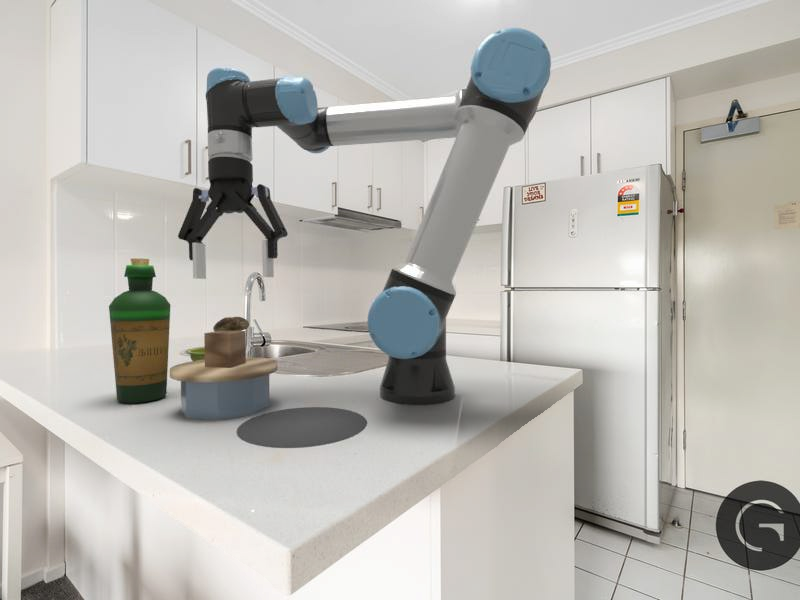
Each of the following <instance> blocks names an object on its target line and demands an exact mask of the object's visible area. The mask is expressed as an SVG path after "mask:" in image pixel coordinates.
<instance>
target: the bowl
mask: <svg viewBox="0 0 800 600" xmlns="http://www.w3.org/2000/svg"><path fill="white" fill-rule="evenodd" d="M180 399H181V400H180V408H181V409H180V410H181V413H183V415H184V417H186V419H202V420H217V421H218V420H224V419H231V418H235V417H242V416H248V415H253V414H256V413H258V412H259V411H261V410H263V409H264V408H266V407H268V406H270V404H271V403H270V402H271V401H270V374H268V375H265V376H261V377H256V378H251V379H244V380H236V381H225V382H185V381H180Z"/></svg>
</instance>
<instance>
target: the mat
mask: <svg viewBox="0 0 800 600" xmlns="http://www.w3.org/2000/svg"><path fill="white" fill-rule="evenodd" d="M367 424H368V421H367V419H366V417H364V416H363V414H360V413H358V412H356V411H352V410H349V409H344V408H339V407H327V406H308V407H306V406H305V407H294V408H293V407H292V408H286V409H281V410H274V411H270V412H267V413H266V412H265V413H262V414H260V415H257V416H254V417H251V418H249V419H247V420H245V421H244V422H242V423H241V424H240V425H239V426H238V427H237V429H236V435H237V437H238V438H239V439H240V440H241V441H244V442H246V443H247V444H250V445H255V446H258V447H265V448H271V449H272V448H274V449H300V448H302V449H303V448H310V447H311V448H312V447H313V448H314V447H319V446H325V445H330V444H334V443H338V442H342V441H345V440H348V439H350V438H353V437H354V436H356V435H359V434H360V433H361V432H363V431H364V430H365V429H366V427H367Z"/></svg>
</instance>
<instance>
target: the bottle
mask: <svg viewBox="0 0 800 600" xmlns="http://www.w3.org/2000/svg"><path fill="white" fill-rule="evenodd" d="M130 262H131V264H126V266H125V270H124V276H123V277H124V278H127V285H128V290H126V291H123V292H122V293H120V294H119V295H117V296H116V297H113V300H112V301H111V302H110V304H109V305H108V311H109V321H110V322H109V324H110V333H111V347H112V348H111V349H112V354H113V356H112V357H113V359H112V360H113V368H114V378H115V379H114V380H115V381H114V382H115V392H116V400H117V401H118V402H120V403H123V404H130V405H131V404H134V405H135V404H146V403H152V402H155V401H158V400H161V399H163V398H164V397H166V396H167V389H168V388H167V387H168V372H169V371H168V365H169V346H170V326H171V325H170V322H171V303H170V301H169V300H168V299H167V298H166V297H165V296H164V295H163V294H161V293H159V292H158V291H155V290H153V281H154V278H157V276H156V270H155V267H154V265H149V264H150V259H149V258H130Z"/></svg>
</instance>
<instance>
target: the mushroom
mask: <svg viewBox="0 0 800 600" xmlns="http://www.w3.org/2000/svg"><path fill="white" fill-rule="evenodd" d="M249 325H250V323H249V321H248V320H247V319H245V318H244V317H241V316H228V317H227V316H226V317H223V318H222V319H220V320H219V321H217V322H216V323H214V326H213V328H212V329H213V332H215V331H246V330H247V329H248V328H249V327H250V326H249Z"/></svg>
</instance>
